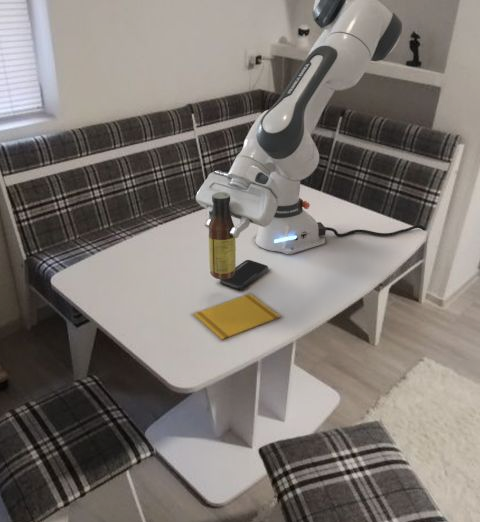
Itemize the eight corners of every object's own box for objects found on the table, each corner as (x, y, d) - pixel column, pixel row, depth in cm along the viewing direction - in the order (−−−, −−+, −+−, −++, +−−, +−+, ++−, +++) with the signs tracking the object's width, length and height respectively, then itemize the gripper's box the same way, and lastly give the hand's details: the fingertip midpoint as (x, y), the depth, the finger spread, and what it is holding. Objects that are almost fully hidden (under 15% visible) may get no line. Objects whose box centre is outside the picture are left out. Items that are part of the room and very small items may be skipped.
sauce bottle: (240, 274, 128) (243, 195, 116) (223, 283, 124) (224, 203, 112) (220, 265, 131) (221, 187, 119) (203, 274, 128) (202, 195, 116)
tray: (250, 295, 143) (250, 293, 143) (280, 317, 134) (280, 315, 134) (194, 315, 135) (193, 313, 135) (221, 340, 126) (221, 338, 126)
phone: (218, 279, 147) (247, 259, 157) (218, 283, 148) (247, 262, 158) (242, 288, 144) (269, 266, 153) (241, 291, 144) (269, 269, 154)
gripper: (206, 161, 123) (180, 214, 123) (278, 181, 113) (250, 238, 113) (218, 175, 129) (193, 225, 128) (288, 195, 119) (261, 249, 118)
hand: (220, 231), depth 121 cm, fingers closed on sauce bottle, 6 cm apart
